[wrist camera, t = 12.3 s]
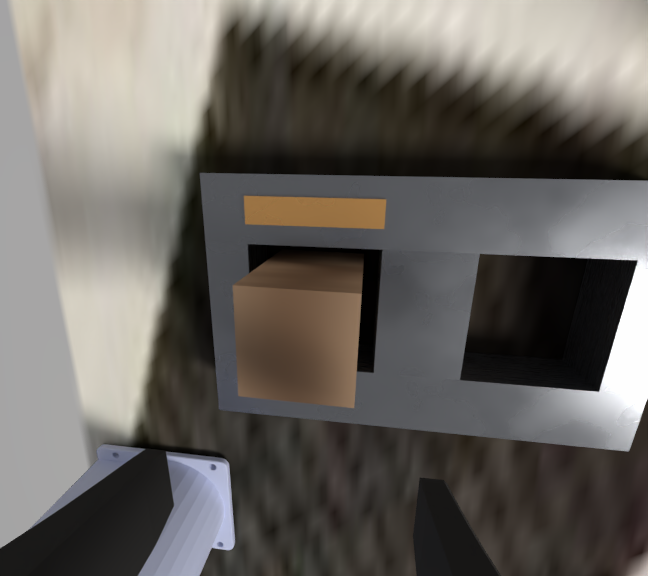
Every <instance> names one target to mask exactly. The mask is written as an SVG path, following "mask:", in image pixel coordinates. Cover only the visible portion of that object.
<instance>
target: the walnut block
mask: <svg viewBox="0 0 648 576" xmlns="http://www.w3.org/2000/svg"><path fill="white" fill-rule="evenodd" d="M363 264H364V254H361V253H342V252H323V251H304V250H286V249H282V250H281V251H279V252H278V253H277V254H275V255H274V256H272V257H271V258H270V259H268V260H267V261H265V262H264V263H263V264H261V265H260V266H259V267H257V268H256V269H254V270H253V271H252V272H250V273H249V274H248V275H246V276H245V277H243V278H242V279H241V280H239V281H238V282H237V283H235V284H234V285H233V302H234V321H235V340H236V359H237V379H238V396H242V397H251V398H261V399H270V400H280V401H290V402H299V403H309V404H319V405H328V406H338V407H347V408H354V404H355V389H356V374H357V358H358V343H359V328H360V313H361V297H362V281H363Z"/></svg>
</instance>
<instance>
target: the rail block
mask: <svg viewBox="0 0 648 576" xmlns="http://www.w3.org/2000/svg"><path fill="white" fill-rule="evenodd" d="M200 183H201V195H202V207H203V219H204V231H205V243H206V255H207V268H208V280H209V292H210V304H211V316H212V328H213V340H214V352H215V364H216V376H217V388H218V400H219V410H226V411H235V412H245V413H255V414H265V415H275V416H285V417H295V418H304V419H314V420H324V421H334V422H344V423H354V424H364V425H373V426H383V427H393V428H403V429H413V430H423V431H433V432H442V433H452V434H462V435H472V436H482V437H492V438H502V439H511V440H521V441H531V442H541V443H551V444H561V445H571V446H580V447H590V448H600V449H610V450H620V451H629V450H630V447H631V444H632V441H633V438H634V435H635V432H636V430H637V427H638V424H639V421H640V418H641V415H642V412H643V409H644V407H645V404H646V401H647V398H648V181H638V180H580V179H522V178H465V177H407V176H349V175H291V174H233V173H200ZM267 245H283V246H306V247H330V248H354V249H378V250H379V263H378V278H377V292H376V307H375V321H374V336H373V345H365V344H358V358H357V374H356V389H355V404H354V408H347V407H338V406H328V405H319V404H309V403H299V402H290V401H280V400H270V399H261V398H251V397H242V396H238V379H237V359H236V340H235V321H234V302H233V285H234V284H235V283H237V282H238V281H239V280H241V279H242V278H243V277H245V276H246V275H248V274H249V273H250V272H252V271H253V270H254V269H256V268H257V267H259V266H260V265H261V264H263V263H264V262H265V261H267V260H268V258H267ZM480 254H497V255H520V256H544V257H568V258H588V259H587V263H586V267H585V271H584V275H583V279H582V283H581V287H580V291H579V295H578V299H577V302H576V306H575V310H574V314H573V318H572V322H571V326H570V330H569V334H568V338H567V342H566V346H565V350H564V354H563V358H562V359H553V358H540V357H526V356H513V355H499V354H486V353H472V352H464V351H465V344H466V338H467V332H468V325H469V319H470V313H471V306H472V300H473V294H474V287H475V281H476V274H477V268H478V262H479V255H480Z"/></svg>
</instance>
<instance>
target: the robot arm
mask: <svg viewBox="0 0 648 576" xmlns="http://www.w3.org/2000/svg"><path fill="white" fill-rule="evenodd" d="M97 457H98V460H97V461H96V462H95V463H94V464H93V465H92V466H91V467H90V468H89V469H88V470H87V471H86V472H85V473H84V474H83V475H82V476H81V478H79V479H78V480H77V481H76V482H75V483H74V485H72V486H71V488H70V489H69V490H68V491H67V492H66V493H65V494H64V495H63V496H62V497H61V498H60V499H59V500H58V501H57V502H56V503H55V504H54V505H53V506H52V507H51V508H50V509H49V510H48V511H47V512H46V513H45V514H44V515H43V516H42V517H41V518H40V519H39V520H38V521H37V522H36V523H35V524H34V525H33V526H32V527H31V528H30V529H29V530H28V531H26V532H25V533H23V534H22V535H20V536H19V537H17V538H16V539H14V540H13V541H11V542H10V543H8V544H7V545H5V546H3V547H2V548H0V576H200V573H201V571H202V569H203V566H204V564H205V562H206V559H207V557H208V555H209V553H210V550H211V548H217V549H224V550H231V549H232V548H233V547H234V544H235V535H234V522H233V509H232V496H231V483H230V470H229V463H228V461H227V460H226V459H223V458H217V457H209V456H200V455H192V454H184V453H175V452H167V451H165V450H155V449H141V448H133V447H124V446H116V445H108V444H102V445H101V446H100V447H99V448H98V449H97ZM213 464H214V465H213ZM413 539H414V550H415V562H416V572H417V576H501V575H500V573H499V572H498V570H497V569H496V567H495V565H494V564H493V562H492V561H491V559H490V558H489V556H488V554H487V553H486V551H485V550H484V548H483V546H482V545H481V543H480V542H479V540H478V538H477V537H476V535H475V533H474V531H473V530H472V528H471V526H470V525H469V523H468V521H467V520H466V518H465V516H464V514H463V512H462V511H461V509H460V507H459V505H458V503H457V502H456V500H455V498H454V496H453V494H452V492H451V490H450V488H449V487H448V485H447V483H446V482H445V481H444V480H437V479H428V478H420V481H419V490H418V498H417V507H416V516H415V524H414V533H413Z"/></svg>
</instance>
